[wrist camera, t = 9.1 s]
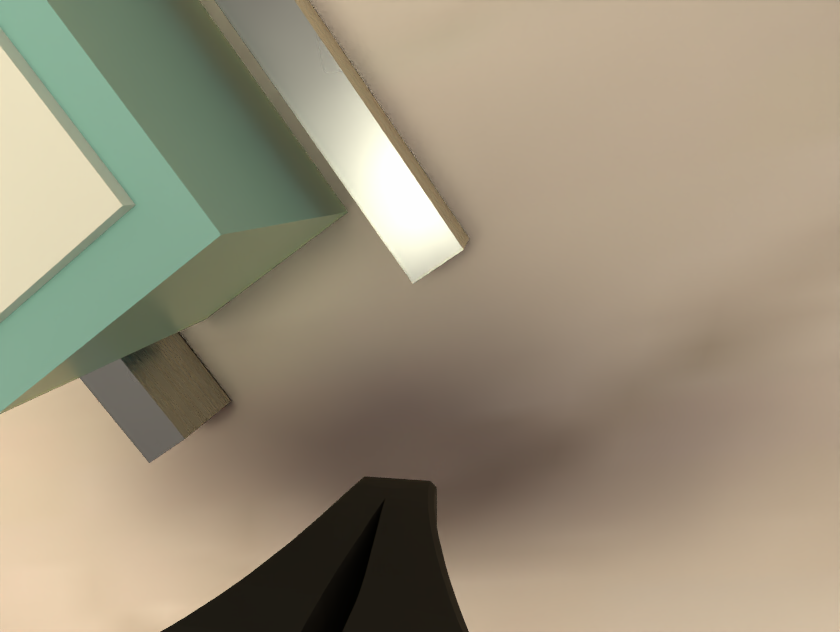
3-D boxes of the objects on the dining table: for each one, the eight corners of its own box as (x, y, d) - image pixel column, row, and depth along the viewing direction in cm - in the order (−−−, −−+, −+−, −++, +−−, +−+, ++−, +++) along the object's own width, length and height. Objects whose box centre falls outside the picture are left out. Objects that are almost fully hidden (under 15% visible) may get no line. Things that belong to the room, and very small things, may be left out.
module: (348, 211, 10) (211, 237, 5) (207, 318, 11) (-21, 423, 6) (157, -60, 10) (-210, -326, 5) (24, 80, 11) (-394, -12, 6)
